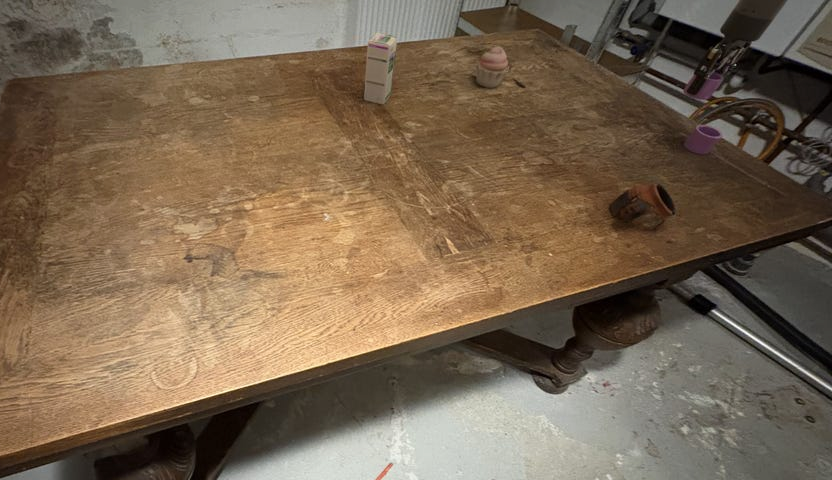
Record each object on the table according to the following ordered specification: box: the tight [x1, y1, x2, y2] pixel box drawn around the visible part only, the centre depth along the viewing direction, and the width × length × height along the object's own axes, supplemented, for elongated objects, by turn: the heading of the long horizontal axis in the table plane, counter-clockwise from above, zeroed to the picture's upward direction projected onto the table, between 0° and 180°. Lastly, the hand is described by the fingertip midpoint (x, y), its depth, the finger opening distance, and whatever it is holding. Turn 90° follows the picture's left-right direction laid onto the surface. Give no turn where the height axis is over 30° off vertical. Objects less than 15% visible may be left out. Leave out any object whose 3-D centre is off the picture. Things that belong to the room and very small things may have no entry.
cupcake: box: [475, 45, 510, 89], centre depth 113 cm, size 9×9×10 cm
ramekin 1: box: [682, 69, 725, 101], centre depth 97 cm, size 6×6×4 cm
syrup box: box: [363, 32, 398, 106], centre depth 102 cm, size 6×6×14 cm
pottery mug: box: [610, 181, 677, 230], centre depth 80 cm, size 12×10×8 cm
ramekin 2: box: [683, 124, 723, 155], centre depth 100 cm, size 6×6×4 cm
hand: (698, 90), depth 98 cm, fingers closed on ramekin 1, 6 cm apart
